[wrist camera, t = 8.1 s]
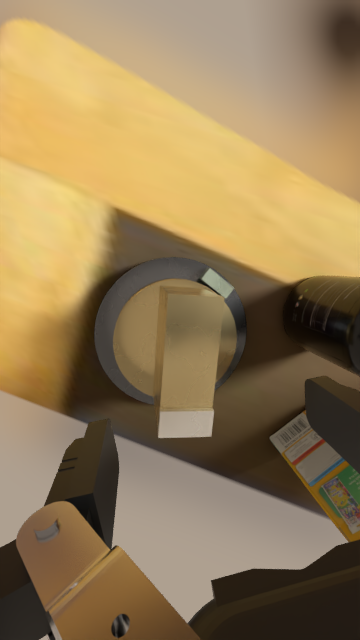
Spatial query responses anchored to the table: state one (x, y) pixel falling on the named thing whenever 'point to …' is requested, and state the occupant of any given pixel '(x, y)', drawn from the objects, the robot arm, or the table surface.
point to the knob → (176, 351)
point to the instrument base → (143, 277)
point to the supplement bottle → (326, 319)
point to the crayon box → (322, 473)
